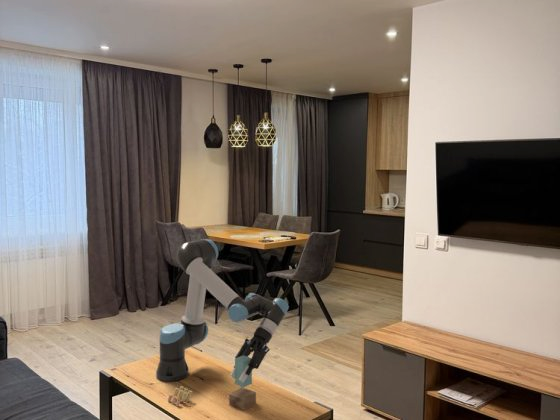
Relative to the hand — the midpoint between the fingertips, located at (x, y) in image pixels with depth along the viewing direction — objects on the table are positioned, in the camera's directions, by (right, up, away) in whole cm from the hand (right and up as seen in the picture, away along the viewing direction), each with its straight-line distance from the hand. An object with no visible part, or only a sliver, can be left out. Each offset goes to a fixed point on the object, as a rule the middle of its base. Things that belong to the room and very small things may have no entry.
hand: (236, 378), depth 202 cm
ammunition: (-25, -12, +6) cm, 28 cm away
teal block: (+3, -3, +3) cm, 5 cm away
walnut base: (+2, -12, +4) cm, 13 cm away
